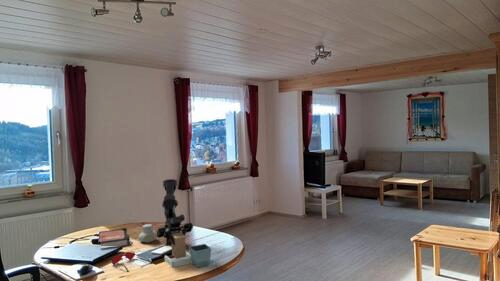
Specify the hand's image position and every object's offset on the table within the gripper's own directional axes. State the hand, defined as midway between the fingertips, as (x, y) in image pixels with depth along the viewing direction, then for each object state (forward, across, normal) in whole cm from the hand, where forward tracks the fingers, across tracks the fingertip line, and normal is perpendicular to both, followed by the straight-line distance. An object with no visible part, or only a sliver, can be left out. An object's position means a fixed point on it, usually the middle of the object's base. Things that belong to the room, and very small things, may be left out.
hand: (179, 243), depth 196 cm
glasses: (-1, -22, +15) cm, 27 cm away
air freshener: (-26, -4, +40) cm, 48 cm away
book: (-35, -22, +50) cm, 65 cm away
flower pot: (+14, +7, -1) cm, 16 cm away
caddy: (+4, 0, +6) cm, 7 cm away
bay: (+6, 0, +7) cm, 9 cm away
